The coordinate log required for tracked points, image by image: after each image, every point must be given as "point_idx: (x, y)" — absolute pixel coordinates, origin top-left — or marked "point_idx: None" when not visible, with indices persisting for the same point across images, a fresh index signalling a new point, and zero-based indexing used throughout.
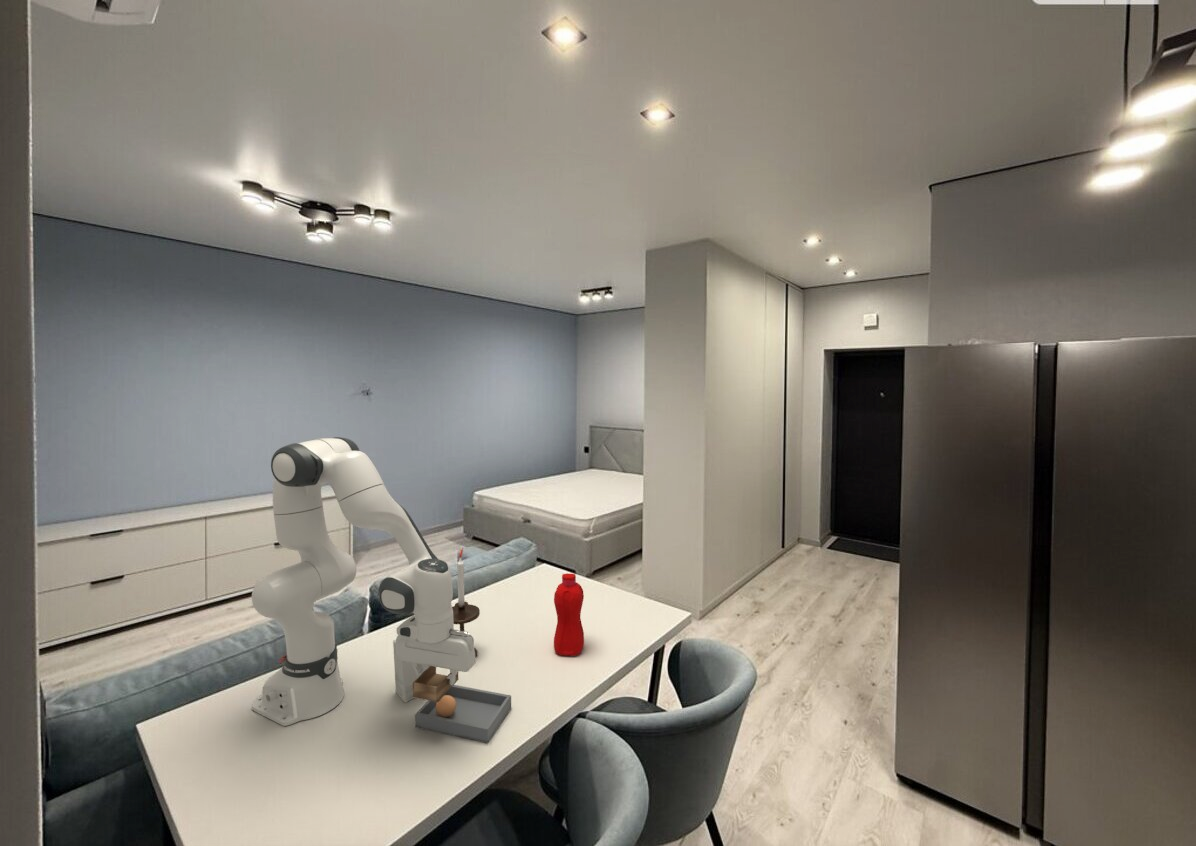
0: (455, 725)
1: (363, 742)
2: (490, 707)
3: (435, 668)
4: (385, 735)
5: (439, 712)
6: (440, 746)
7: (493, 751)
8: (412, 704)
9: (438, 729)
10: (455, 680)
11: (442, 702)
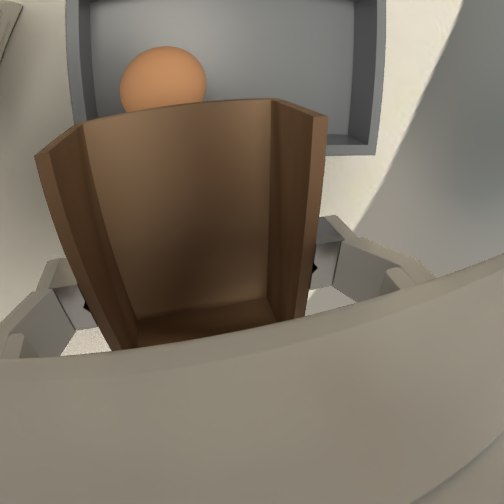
0: None
1: (33, 268)
2: (303, 6)
3: (70, 142)
4: (51, 229)
5: None
6: None
7: (370, 162)
8: (10, 95)
9: None
10: (337, 218)
11: None
